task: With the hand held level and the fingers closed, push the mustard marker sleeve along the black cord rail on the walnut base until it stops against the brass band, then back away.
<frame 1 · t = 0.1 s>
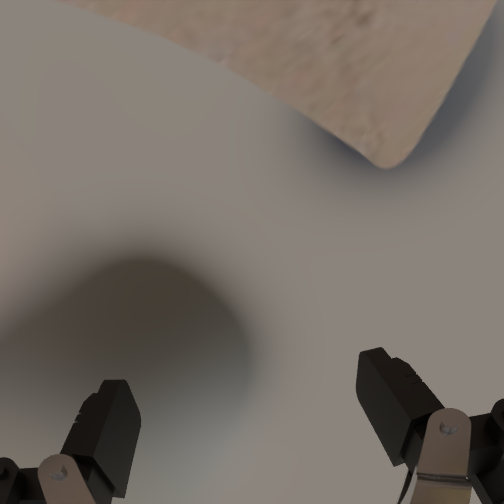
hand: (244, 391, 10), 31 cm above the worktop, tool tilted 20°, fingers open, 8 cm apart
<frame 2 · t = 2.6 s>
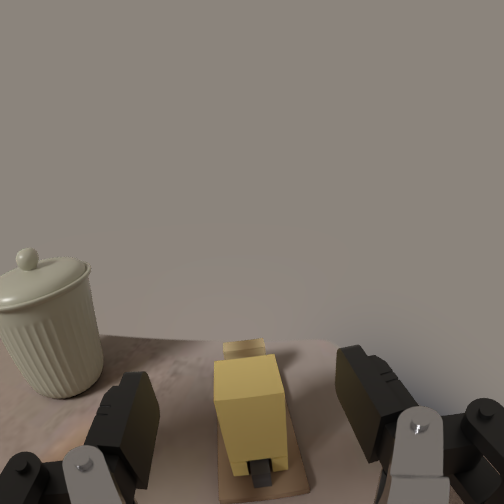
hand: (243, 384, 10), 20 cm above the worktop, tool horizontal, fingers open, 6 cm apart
marker sleeve: (253, 420, 24), point 7 cm above the worktop, slide at 0.0 cm
canister: (70, 379, 40), on the worktop
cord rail: (254, 427, 31), on the worktop
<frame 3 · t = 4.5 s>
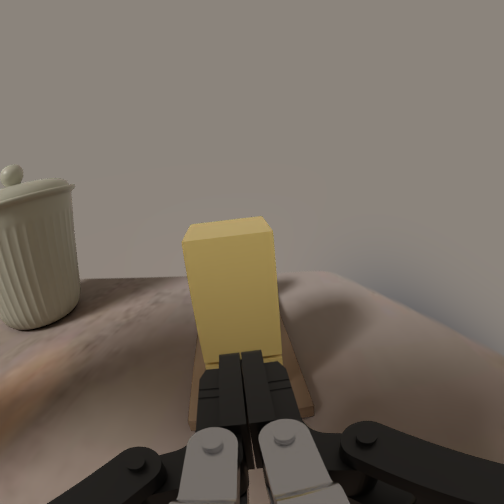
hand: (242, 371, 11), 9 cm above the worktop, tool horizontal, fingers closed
marker sleeve: (236, 304, 21), point 7 cm above the worktop, slide at 0.0 cm
canister: (43, 315, 36), on the worktop
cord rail: (242, 345, 27), on the worktop
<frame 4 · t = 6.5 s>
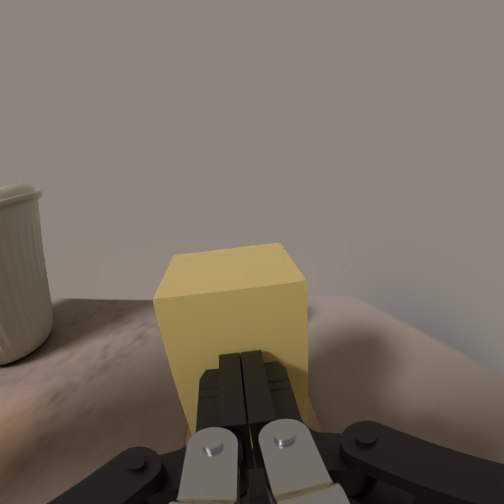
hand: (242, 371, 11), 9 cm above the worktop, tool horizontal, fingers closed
marker sleeve: (242, 372, 14), point 7 cm above the worktop, slide at 1.1 cm, touching gripper
canister: (13, 345, 28), on the worktop
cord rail: (249, 410, 19), on the worktop
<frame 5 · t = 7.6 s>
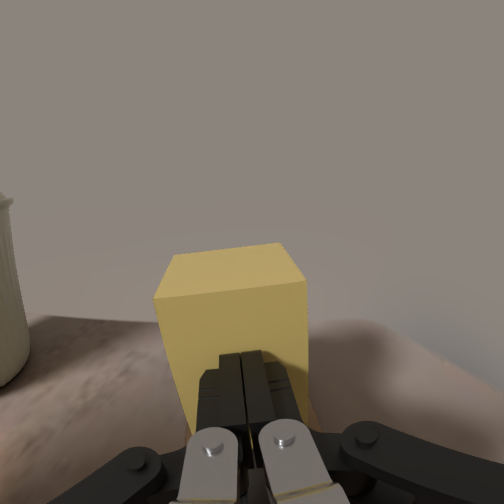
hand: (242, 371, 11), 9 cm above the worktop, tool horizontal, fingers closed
marker sleeve: (242, 372, 14), point 7 cm above the worktop, slide at 7.1 cm, touching gripper
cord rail: (259, 481, 14), on the worktop
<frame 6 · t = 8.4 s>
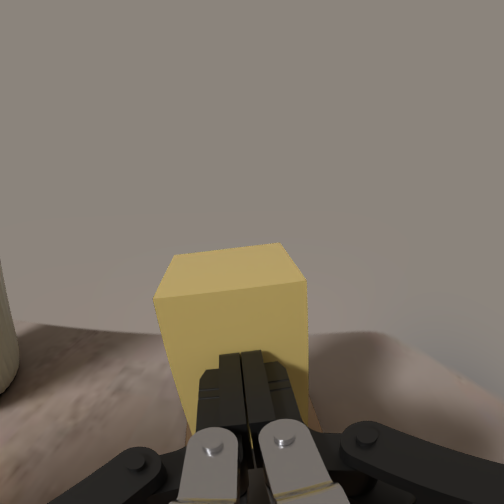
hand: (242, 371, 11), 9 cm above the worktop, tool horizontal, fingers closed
marker sleeve: (242, 372, 14), point 7 cm above the worktop, slide at 9.7 cm, touching gripper
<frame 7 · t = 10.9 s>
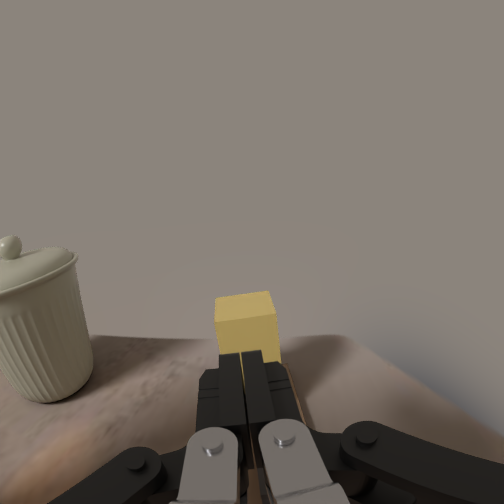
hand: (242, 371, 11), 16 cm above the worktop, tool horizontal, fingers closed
marker sleeve: (250, 354, 29), point 7 cm above the worktop, slide at 9.7 cm
canister: (57, 382, 35), on the worktop
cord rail: (263, 435, 26), on the worktop
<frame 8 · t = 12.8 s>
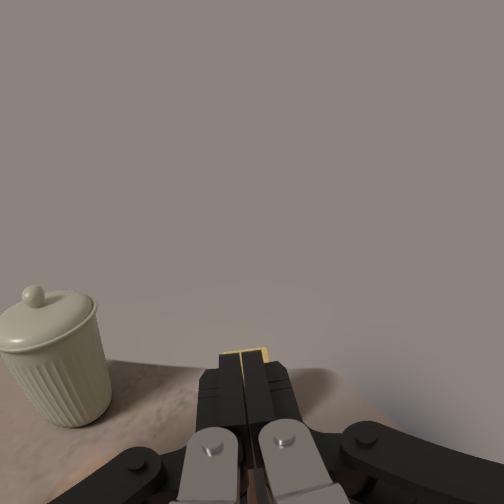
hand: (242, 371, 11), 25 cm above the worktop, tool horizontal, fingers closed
marker sleeve: (250, 396, 34), point 7 cm above the worktop, slide at 9.7 cm
canister: (79, 406, 40), on the worktop
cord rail: (259, 458, 31), on the worktop
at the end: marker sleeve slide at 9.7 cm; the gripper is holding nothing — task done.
